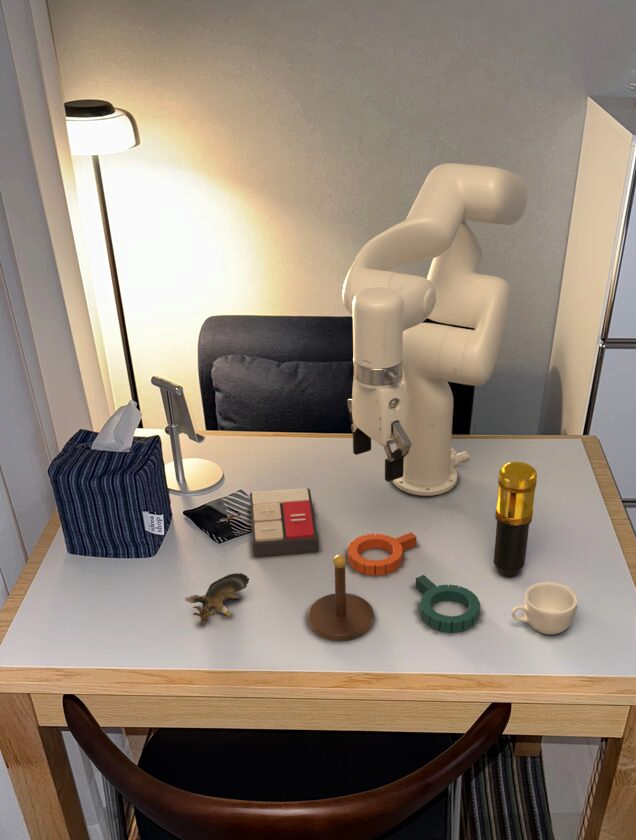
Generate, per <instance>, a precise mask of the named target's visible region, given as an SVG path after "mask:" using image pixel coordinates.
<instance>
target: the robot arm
mask: <svg viewBox="0 0 636 840" xmlns="http://www.w3.org/2000/svg"><path fill="white" fill-rule="evenodd" d="M527 203H528V188H527V185H526V181H525V180H524V179H523V177H521V175H520V174H517V173H513V172H511V171H509V170H506V169H504V168H500V167H496V166H488V165H477V164H467V163H456V162H448V163H441V164H439V165H436V166H435V167H434V168H432V169H431V170H430V172H429V173H428V174H427V176H426V178H425V180H424V182H423V184H422V186H421V188H420V190H419V192H418V194H417V196H416V198H415V199H414V202H413V204H412V206H411V208H410V210H409V211H408V214H407V217H406V218H405V220H403V221H401V222H399V223H397V224H395V225H393V226H391V227H389V228H387V229H385V230H383V231H382V232H381V233H379V234H376V235H375V236H374V237H373V238H371V239H370V240H369V241H367V242H366V243H365V244H364V245H363V247H361V249H360V250H359V251H358V253H357V255H356V257H355V259H354V261H353V262H352V265H350V268H349V270H348V272H347V275H346V277H345V280H344V283H343V287H342V304H343V306H344V308H345V310H347V312H348V313H350V315H352V352H353V355H352V357H353V358H352V360H353V361H352V362H353V363H352V364H353V380H352V394H351V398H348V399H346V403H347V408H348V411H349V413H348V417H349V419H350V422H351V425H350V429H351V431H352V453H353V454H354V455H356V456H357V455H361V454H363V453H366V452H370V451H371V450H372V441H374V442H375V443H377V444H378V445H380V446H382V448H383V450H384V452H385V455H386V458H385V459H384V480H385V482H387V483H389V482H392V483H393V484H394V486H395V487H397V488H398V489H399V490H401V491H402V492H404V493H407V494H411V495H413V496H421V497H431V496H432V497H433V496H437V495H438V496H439V495H442V494H445V493H446V492H449V491H451V490H452V489H454V488H455V487H456V485H457V483H458V472H457V469H455V467H458V465H459V464H461V463H465V462H467V461H470V459H471V454H470V452H469V451H468V450H465V451H461V452H458V453H457V450H456V449H455V448H452V437H453V419H454V417H453V416H454V394H453V391H452V389H451V386H450V384H449V383H454V384H460V385H465V386H473V387H478V386H483V385H486V383H487V382H489V380H490V379H491V377H492V375H493V373H494V369H495V365H496V364H497V360H498V356H499V352H500V349H501V345H502V341H503V338H504V335H505V331H506V327H507V324H508V320H509V317H510V311H511V305H512V291H511V288H510V284H509V283H508V282H507V281H506V280H505V279H504V278H502V277H499V276H496V275H490V274H483V273H479V269H480V265H481V262H482V259H483V249H482V246H481V244H480V242H479V239H478V238H477V236H476V234H475V233H474V232H473V230H472V229H471V227H470V226H469V224H468V222H467V221H470V222H477V223H486V224H487V223H488V224H494V225H495V224H496V225H506V226H511V225H514V224H516V223H517V222H519V221H520V219H521V218H522V217H523V215H524V213H525V210H526V209H527V208H526V207H527ZM429 260H432V261H431V264H430V267H429V271H428V274H427V276H426V277H427V278H425V277H424V276H420V275H416V274H408V273H401V272H396V271H390V270H392V269H394V268H397V267H401V266H406V265H411V264H415V263H420V262H424V261H425V262H426V261H429ZM427 319H429V320H431V321H433V322H437V323H431V322H424V321H426V320H427ZM438 323H441V324H438ZM450 325H451V326H450ZM455 326H459V327H455ZM462 327H465V328H462ZM467 328H468V329H467ZM469 328H470V329H469ZM390 437H393V438H392V439H390ZM394 444H395V446H396V449H395V450H392V447H391V445H394Z"/></svg>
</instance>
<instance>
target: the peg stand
mask: <svg viewBox="0 0 636 840" xmlns="http://www.w3.org/2000/svg"><path fill="white" fill-rule="evenodd" d="M332 564H333V566H334V593H330V594H327V595H324V596H322V597H320V598H318V599H317V600H316V601H314V603H312V604H311V606H310V608H309V611H308V624H309V627H310V628H311V630H312V632H314V633H315V634H316V635H318V636H319V637H321V638H323V639H325V640H329V641H335V642H346V641H351V640H355V639H357V638H360V637H362V636H364V635H365V634H366V633H368V631H369V630H370V629H371V628H372V626H373V623H374V610H373V607H372V605H371V604H370V603H369V602H368V601H367V600H366V599H365V598H363V597H361V596H359V595H357V594H353V593H347V591H346V590H347V589H346V565H347V558H346V557H345V556H344V555H342V554H338V555H336V556H334V557H333V560H332Z"/></svg>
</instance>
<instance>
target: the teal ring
mask: <svg viewBox="0 0 636 840" xmlns="http://www.w3.org/2000/svg"><path fill="white" fill-rule="evenodd" d="M415 589H416V590H418V592H420V593H421V594H422V595H421V597H420V601H419V616H420V618H421V620H422V621H423V623H425V625H427V626H428V627H429V628H431V629H432V630H436V631H438V632H439V631H440V633H441V632H442V633H446V634H447V633H449V634H451V633H452V634H456V633H462V632H465V631H467V630H469V629H471V628H472V627H474V626H475V625H476V624H477V623H478V621H479V619H480V610H481V602H480V600H479V597H478V596H477V595H476V594H475V593H474V592H473V591H472V590H469V589H468V588H465V586H459V585H458V584H457V585H455V584H440V585H436V584H435V583H434V582H433V581H431V580H430V579H429V578H428V577H427V576H426V575H425V574H422V575H420V576H418V577H416V578H415ZM445 601H451V602H456V603H459V604H460V605H463V606H464V608H466V611H465V612H463V613H462V614H457V615H447V614H442V613H439V612H438V611H436V610H435V609H434V608H433V607H434V605H435V604H438V603H440V602H445Z"/></svg>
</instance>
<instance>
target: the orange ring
mask: <svg viewBox="0 0 636 840" xmlns="http://www.w3.org/2000/svg"><path fill="white" fill-rule="evenodd" d="M415 547H417V535H415V533H413V532H412V531H410V532H408V533H405V534H402V535H400V536H398V537H393V536H391V535H388V534H384V533H367V534H363V535H360V536H358V537H355V538H354V539H353V540H352V541H350V543H349V544H348V547H347V562H348V565H349V566H350V567H351V568H352V569H353V570H354V571H356V572H357V573H360V574H362V575H365V576H373V577H374V576H376V577H377V576H386V575H389V574H391V573H394V572H395V571H397V570H398V569H399V568H400V567H401V565H402V563H403V561H404V551H407V550H409V549H412V548H415ZM369 549H380V550H381V549H382V550H384V551H387V552H388V553H389V554H390V555H389V556H388V557H386V558H383V559H378V560H376V559H375V560H374V559H368V558H365V557H363V556H362V555H360V554H361V553H362V552H364V551H367V550H369Z"/></svg>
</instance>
